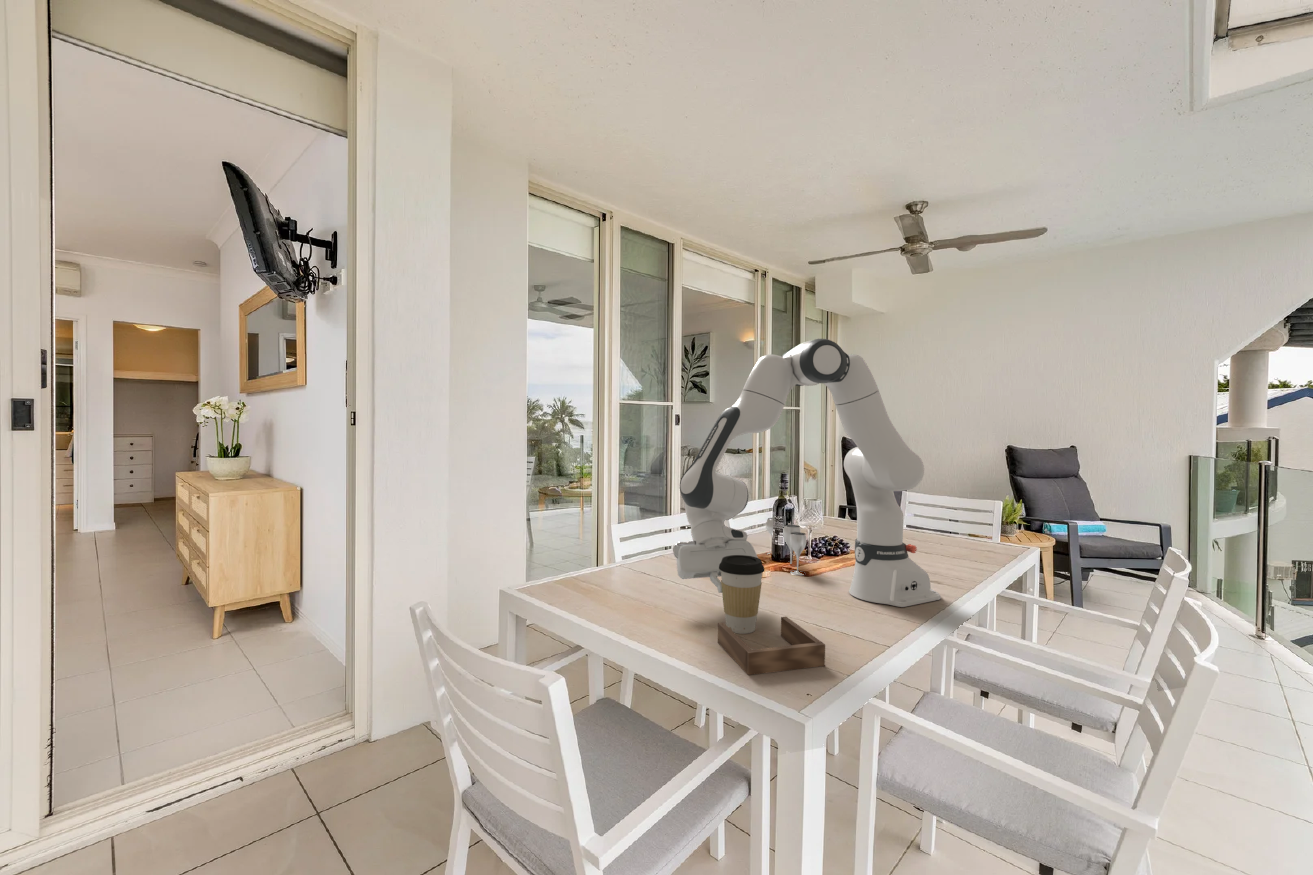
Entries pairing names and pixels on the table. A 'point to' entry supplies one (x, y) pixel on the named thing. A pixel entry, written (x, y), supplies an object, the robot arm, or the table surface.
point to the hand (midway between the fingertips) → (725, 591)
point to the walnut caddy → (775, 650)
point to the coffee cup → (741, 591)
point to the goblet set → (790, 540)
